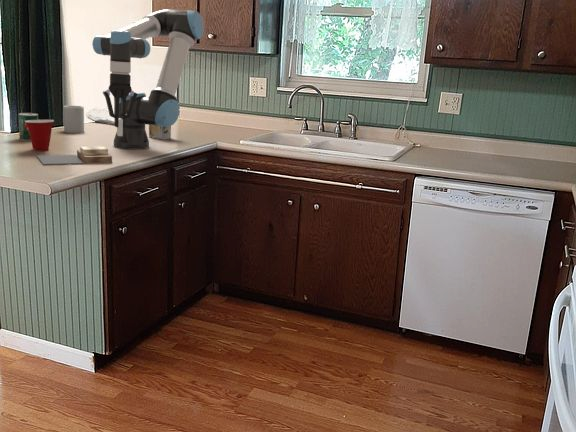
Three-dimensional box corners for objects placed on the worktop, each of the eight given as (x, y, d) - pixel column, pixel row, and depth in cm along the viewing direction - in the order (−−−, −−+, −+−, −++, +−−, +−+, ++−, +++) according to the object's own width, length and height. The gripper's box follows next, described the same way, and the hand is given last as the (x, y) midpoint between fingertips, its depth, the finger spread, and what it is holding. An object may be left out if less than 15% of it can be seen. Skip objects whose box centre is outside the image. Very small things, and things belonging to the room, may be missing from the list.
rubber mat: (75, 156, 235) (75, 154, 235) (83, 164, 222) (83, 162, 222) (36, 156, 228) (36, 155, 228) (43, 165, 215) (43, 163, 215)
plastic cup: (42, 146, 250) (41, 117, 246) (60, 149, 245) (59, 120, 242) (19, 148, 240) (18, 118, 237) (38, 152, 236) (37, 122, 232)
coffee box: (171, 138, 294) (172, 105, 289) (163, 139, 288) (163, 106, 284) (156, 136, 297) (157, 103, 293) (148, 137, 292) (148, 103, 288)
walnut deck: (103, 155, 239) (103, 149, 239) (112, 162, 228) (112, 156, 227) (77, 156, 234) (77, 150, 234) (84, 163, 223) (84, 156, 222)
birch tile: (104, 151, 235) (104, 146, 235) (108, 154, 230) (108, 149, 230) (80, 151, 231) (80, 146, 230) (83, 154, 226) (83, 149, 225)
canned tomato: (32, 141, 258) (31, 115, 255) (15, 139, 260) (14, 113, 257) (42, 139, 266) (41, 114, 263) (26, 137, 267) (25, 112, 264)
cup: (80, 133, 288) (79, 108, 285) (61, 132, 288) (60, 106, 285) (86, 130, 297) (86, 106, 294) (68, 129, 297) (67, 105, 294)
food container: (98, 113, 340) (95, 105, 336) (137, 123, 326) (135, 114, 323) (83, 123, 333) (80, 115, 329) (123, 134, 319) (120, 124, 316)
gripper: (134, 73, 233) (133, 134, 239) (100, 71, 227) (100, 134, 233) (140, 74, 227) (139, 137, 233) (105, 72, 221) (105, 137, 227)
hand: (119, 135), depth 233 cm, fingers closed
